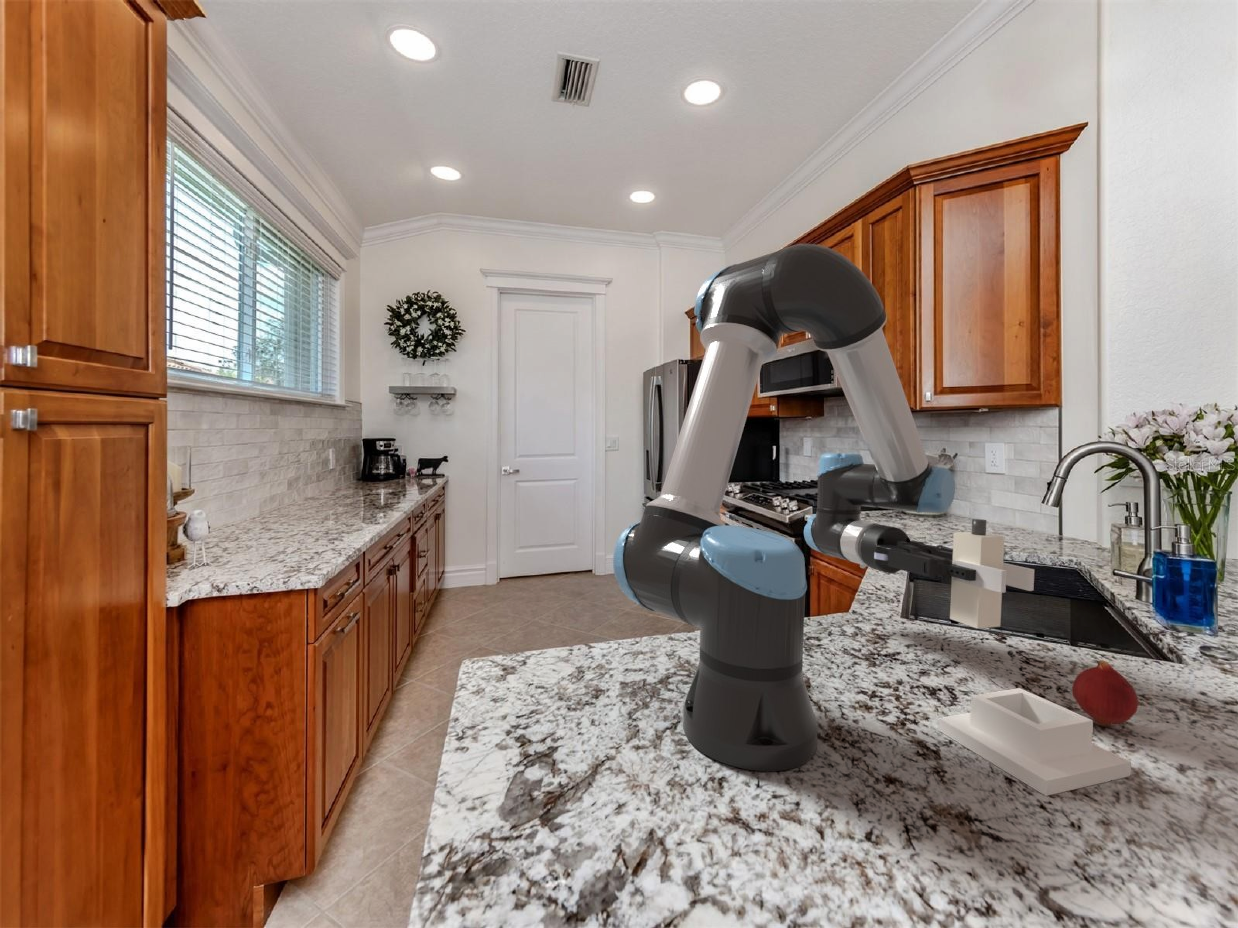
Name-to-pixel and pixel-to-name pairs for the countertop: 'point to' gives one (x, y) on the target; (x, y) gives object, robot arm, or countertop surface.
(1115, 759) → the socket
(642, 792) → the countertop surface
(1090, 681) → the onion
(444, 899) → the countertop surface
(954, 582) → the plug
